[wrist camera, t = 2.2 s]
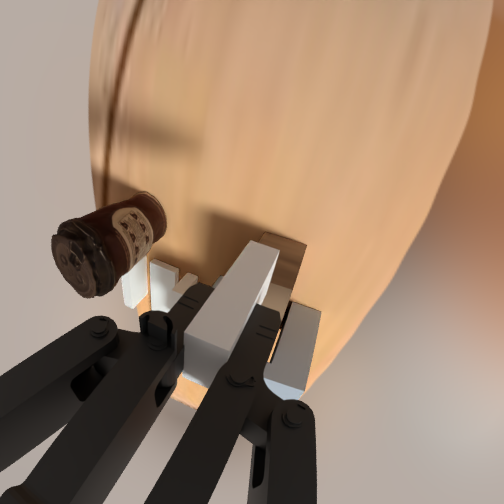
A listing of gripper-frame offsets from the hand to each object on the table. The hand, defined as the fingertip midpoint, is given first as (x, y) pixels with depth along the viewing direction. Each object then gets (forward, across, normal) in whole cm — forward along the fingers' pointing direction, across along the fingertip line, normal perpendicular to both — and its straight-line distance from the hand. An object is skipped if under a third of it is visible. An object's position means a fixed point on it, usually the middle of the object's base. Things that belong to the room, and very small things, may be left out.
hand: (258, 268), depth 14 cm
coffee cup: (+14, -17, -8) cm, 24 cm away
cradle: (+14, -14, -21) cm, 29 cm away
